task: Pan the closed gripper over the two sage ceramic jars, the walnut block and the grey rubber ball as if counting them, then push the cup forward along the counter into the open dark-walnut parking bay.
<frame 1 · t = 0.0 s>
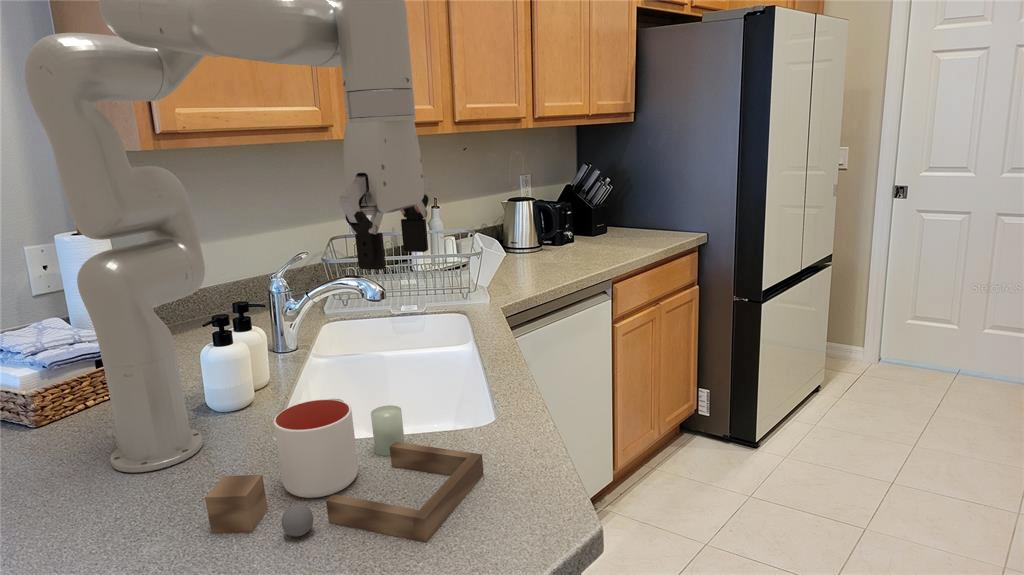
hand: (395, 259, 81), 31 cm above the countertop, fingers open, 9 cm apart
walnut block: (240, 522, 86), on the countertop
jar b: (390, 449, 102), on the countertop
cup: (322, 483, 94), on the countertop
grey ball: (299, 533, 82), on the countertop
jar a: (333, 440, 106), on the countertop
bay: (405, 496, 89), on the countertop
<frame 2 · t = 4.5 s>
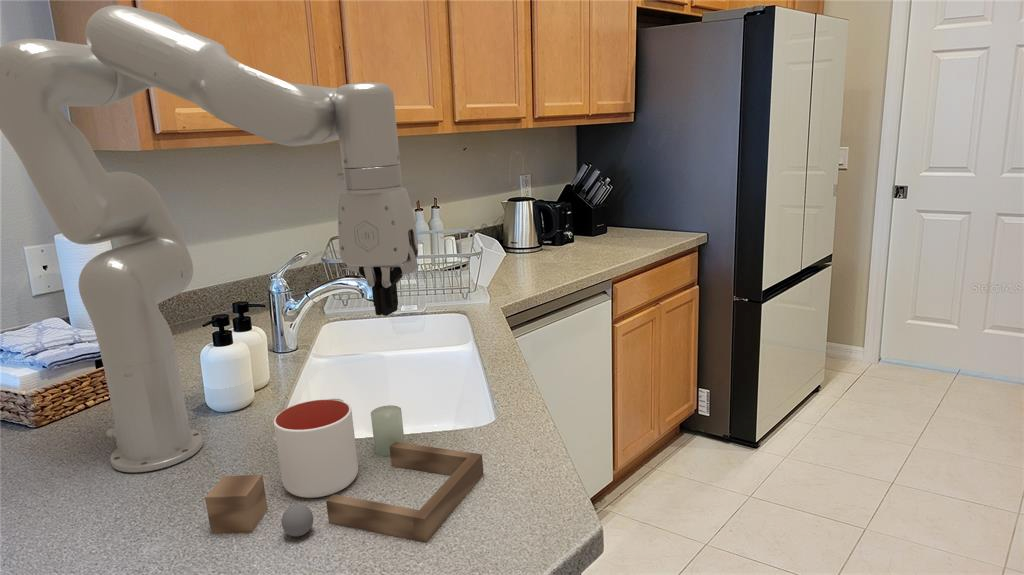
hand: (386, 312, 96), 21 cm above the countertop, fingers closed
nothing on the countertop moved.
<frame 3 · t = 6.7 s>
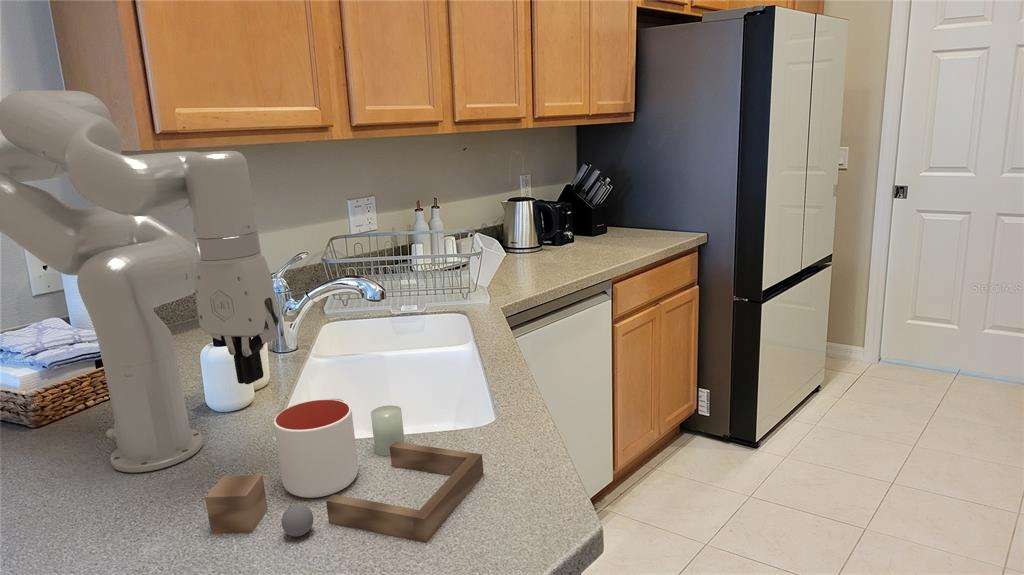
hand: (251, 380, 94), 14 cm above the countertop, fingers closed
nothing on the countertop moved.
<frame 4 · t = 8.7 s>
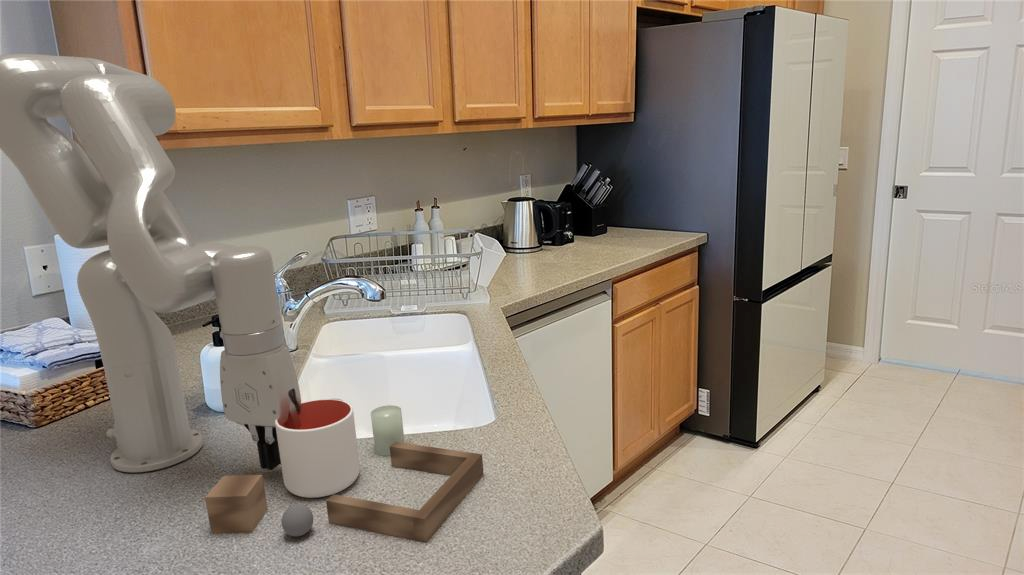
hand: (273, 464, 97), 1 cm above the countertop, fingers closed
cup: (323, 483, 94), on the countertop, touching gripper
everything else where it was.
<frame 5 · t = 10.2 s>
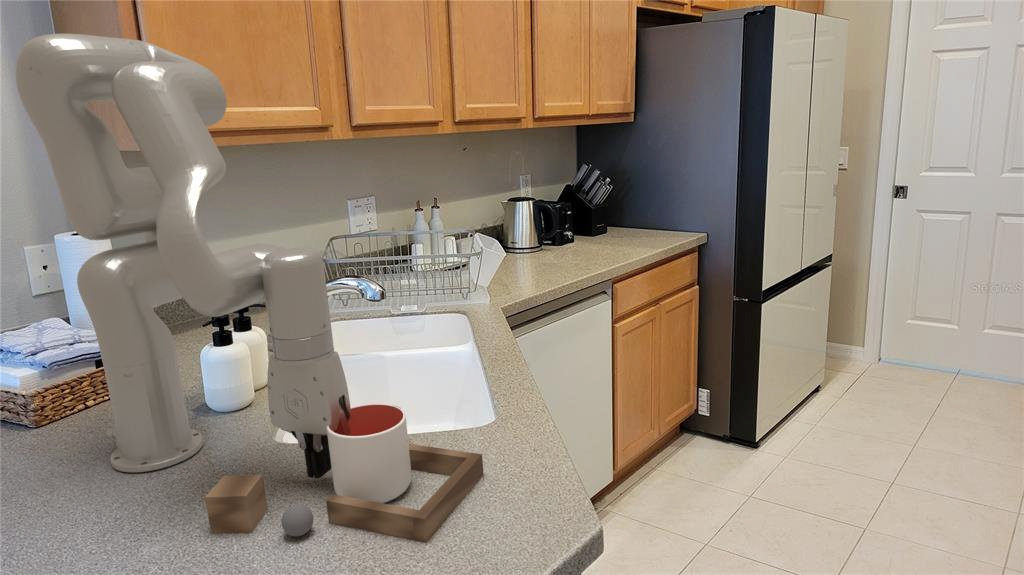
hand: (320, 472, 94), 1 cm above the countertop, fingers closed
cup: (374, 490, 91), on the countertop, touching gripper
everything else where it was.
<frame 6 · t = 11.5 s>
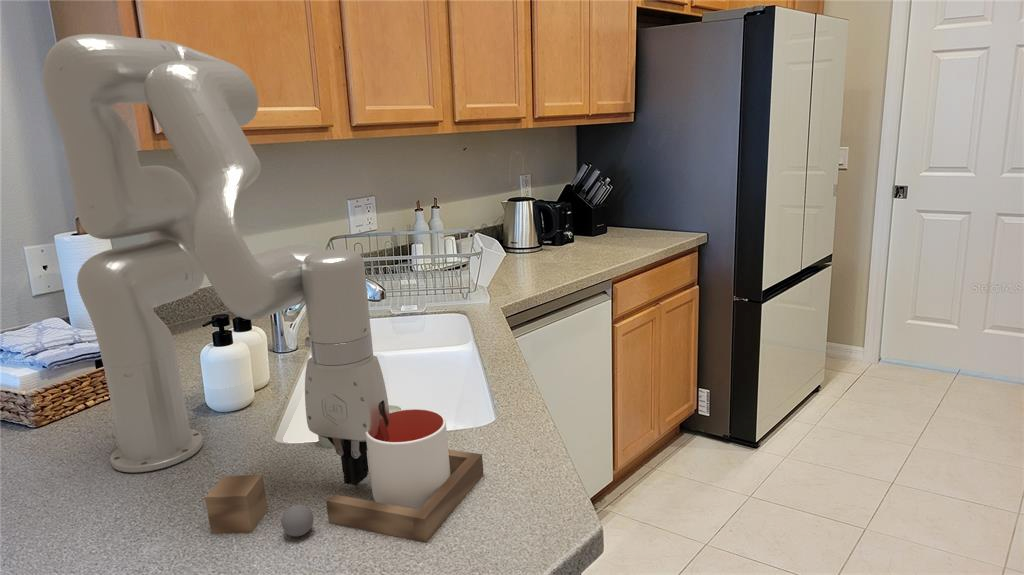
hand: (356, 479, 92), 1 cm above the countertop, fingers closed
cup: (413, 498, 89), on the countertop, touching bay, gripper
everything else where it was.
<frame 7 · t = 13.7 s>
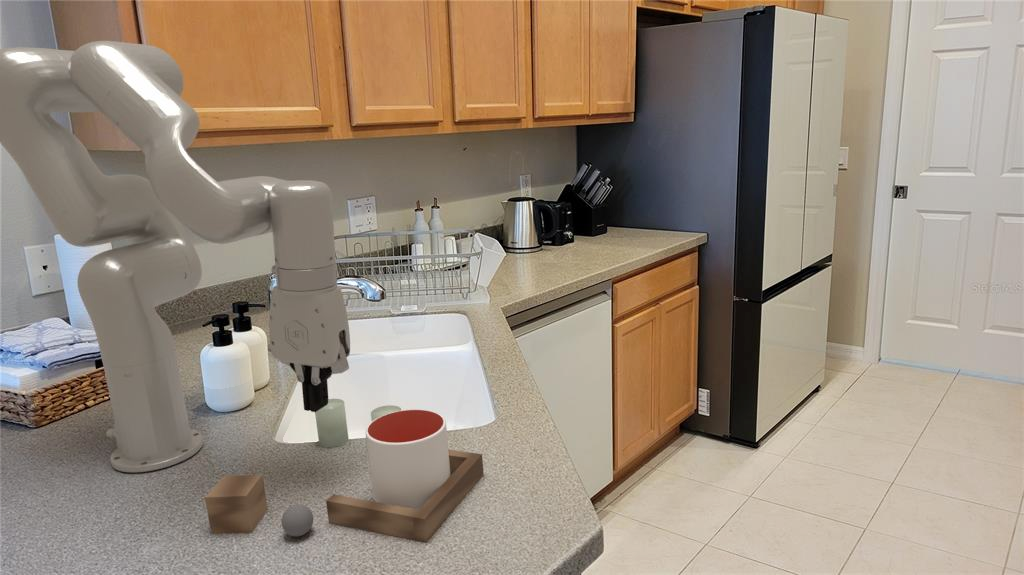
hand: (316, 407, 95), 10 cm above the countertop, fingers closed
cup: (413, 498, 89), on the countertop
everything else where it was.
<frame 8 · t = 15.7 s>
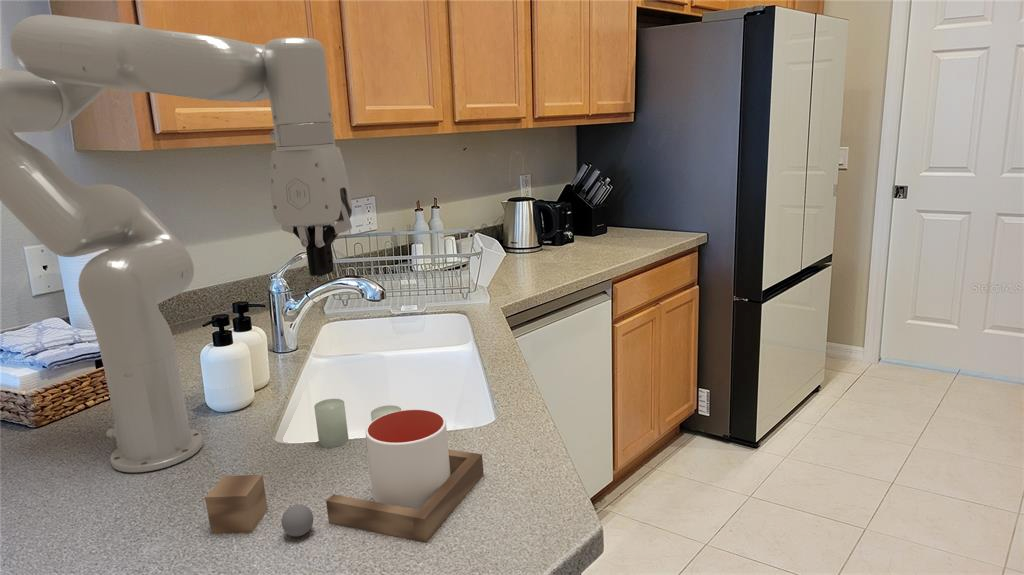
hand: (321, 273, 95), 27 cm above the countertop, fingers closed
nothing on the countertop moved.
at the end: cup inside the target area on the bay (1.0 cm from its centre), point 0.0 cm above the bay's base; cup tilted 0°; jar b moved 0.0 cm from its start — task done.
